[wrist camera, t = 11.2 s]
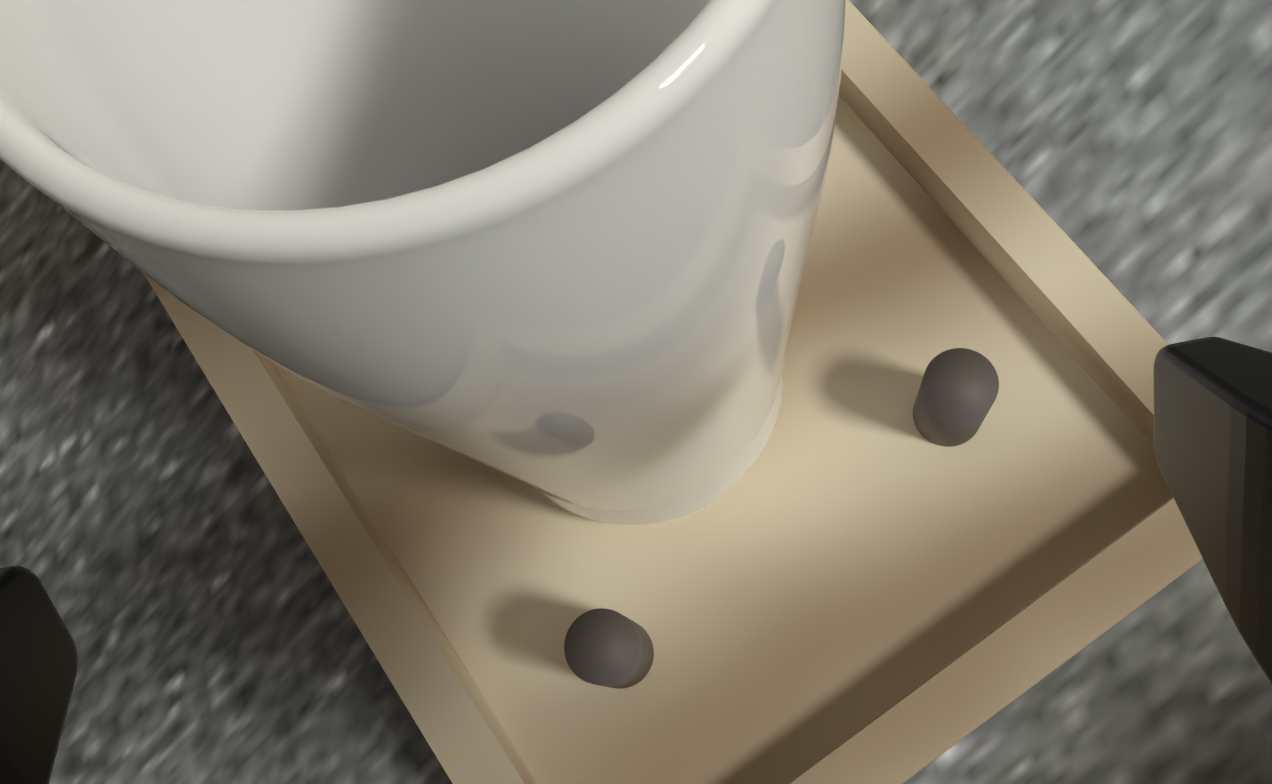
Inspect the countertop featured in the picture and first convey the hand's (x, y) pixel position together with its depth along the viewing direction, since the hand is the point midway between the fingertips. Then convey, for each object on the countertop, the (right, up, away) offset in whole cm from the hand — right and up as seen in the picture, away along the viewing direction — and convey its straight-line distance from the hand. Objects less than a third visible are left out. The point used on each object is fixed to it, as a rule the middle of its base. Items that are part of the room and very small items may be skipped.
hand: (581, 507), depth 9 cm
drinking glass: (+1, +1, +13) cm, 13 cm away
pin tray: (+1, +1, +14) cm, 14 cm away
